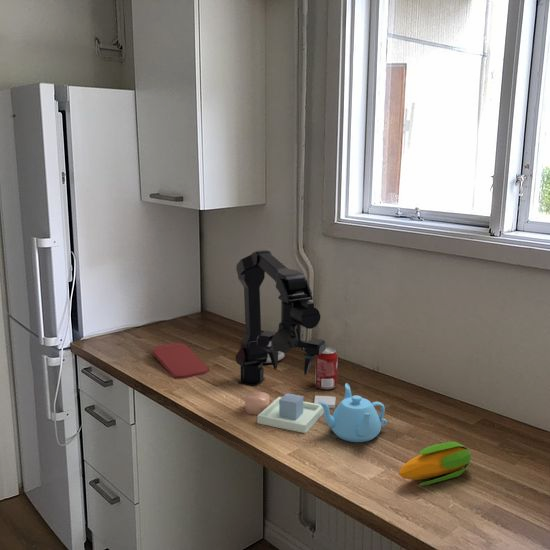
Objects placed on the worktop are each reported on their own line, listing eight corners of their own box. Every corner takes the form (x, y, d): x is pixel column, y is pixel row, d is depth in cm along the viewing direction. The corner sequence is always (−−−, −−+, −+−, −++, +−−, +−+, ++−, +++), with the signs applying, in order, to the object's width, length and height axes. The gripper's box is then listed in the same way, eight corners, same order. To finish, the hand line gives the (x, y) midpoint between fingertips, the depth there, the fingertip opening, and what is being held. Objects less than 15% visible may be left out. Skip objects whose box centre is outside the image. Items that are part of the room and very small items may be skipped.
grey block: (313, 408, 179) (313, 403, 179) (315, 400, 185) (315, 395, 185) (334, 409, 179) (334, 405, 178) (335, 401, 184) (335, 396, 184)
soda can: (335, 391, 190) (336, 354, 188) (313, 389, 192) (314, 352, 189) (338, 383, 197) (339, 347, 194) (316, 381, 198) (317, 345, 196)
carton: (210, 383, 207) (179, 351, 227) (210, 370, 205) (180, 339, 225) (176, 390, 201) (147, 357, 220) (176, 377, 199) (148, 344, 219)
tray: (257, 423, 169) (257, 415, 169) (278, 403, 181) (278, 396, 181) (305, 433, 163) (305, 425, 163) (324, 412, 176) (324, 405, 175)
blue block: (279, 416, 171) (279, 399, 170) (286, 409, 176) (286, 393, 174) (296, 420, 169) (296, 403, 168) (303, 413, 173) (303, 396, 172)
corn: (480, 443, 142) (411, 464, 133) (480, 474, 143) (411, 497, 134) (457, 432, 148) (390, 451, 139) (456, 462, 150) (390, 483, 141)
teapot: (393, 431, 165) (395, 394, 163) (366, 453, 153) (368, 414, 151) (345, 416, 173) (346, 382, 171) (316, 437, 161) (316, 399, 159)
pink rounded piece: (240, 412, 176) (240, 399, 175) (251, 402, 182) (251, 390, 181) (263, 416, 173) (263, 403, 172) (273, 407, 179) (273, 394, 179)
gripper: (247, 321, 167) (247, 375, 171) (312, 331, 160) (310, 388, 163) (265, 310, 177) (265, 362, 181) (327, 320, 170) (325, 373, 173)
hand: (290, 371), depth 174 cm, fingers open, 9 cm apart
